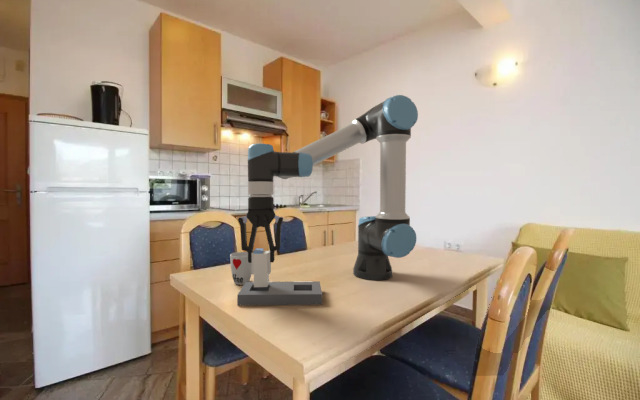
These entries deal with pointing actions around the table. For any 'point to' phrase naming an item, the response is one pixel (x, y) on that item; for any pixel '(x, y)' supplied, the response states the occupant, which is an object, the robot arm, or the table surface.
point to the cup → (240, 267)
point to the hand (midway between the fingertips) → (261, 272)
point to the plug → (261, 268)
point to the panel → (281, 293)
